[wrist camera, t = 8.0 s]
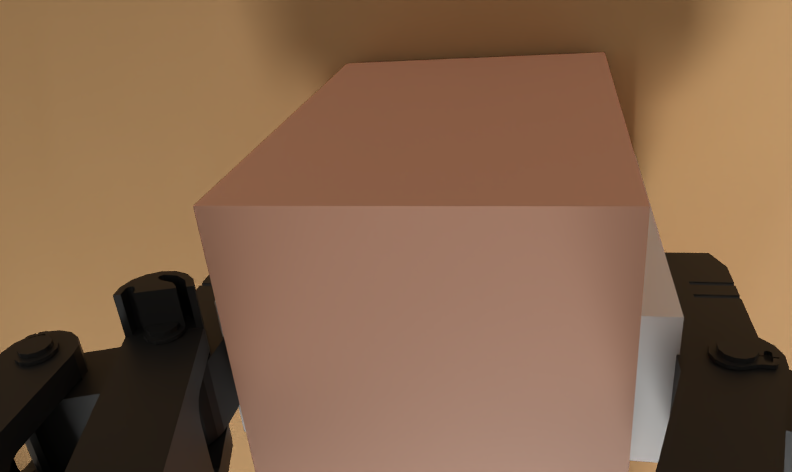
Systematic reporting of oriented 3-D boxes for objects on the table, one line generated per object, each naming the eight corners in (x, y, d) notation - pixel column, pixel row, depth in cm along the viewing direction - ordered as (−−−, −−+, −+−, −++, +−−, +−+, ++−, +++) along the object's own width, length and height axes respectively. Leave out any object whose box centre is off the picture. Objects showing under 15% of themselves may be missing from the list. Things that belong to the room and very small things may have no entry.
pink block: (379, 353, 19) (285, 611, 13) (344, 63, 16) (189, 205, 9) (592, 363, 18) (617, 655, 11) (607, 52, 15) (654, 206, 8)
